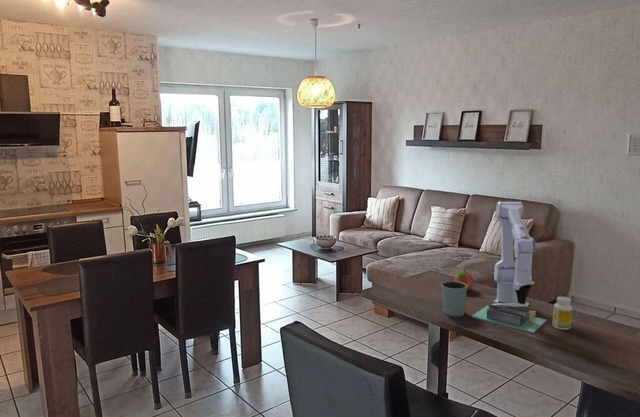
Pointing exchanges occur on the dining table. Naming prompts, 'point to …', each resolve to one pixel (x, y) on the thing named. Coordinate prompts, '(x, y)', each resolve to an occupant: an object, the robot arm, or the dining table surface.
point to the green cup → (454, 298)
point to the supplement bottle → (562, 313)
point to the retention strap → (509, 304)
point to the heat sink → (511, 314)
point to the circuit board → (525, 327)
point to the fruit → (465, 278)
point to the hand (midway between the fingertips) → (521, 303)
